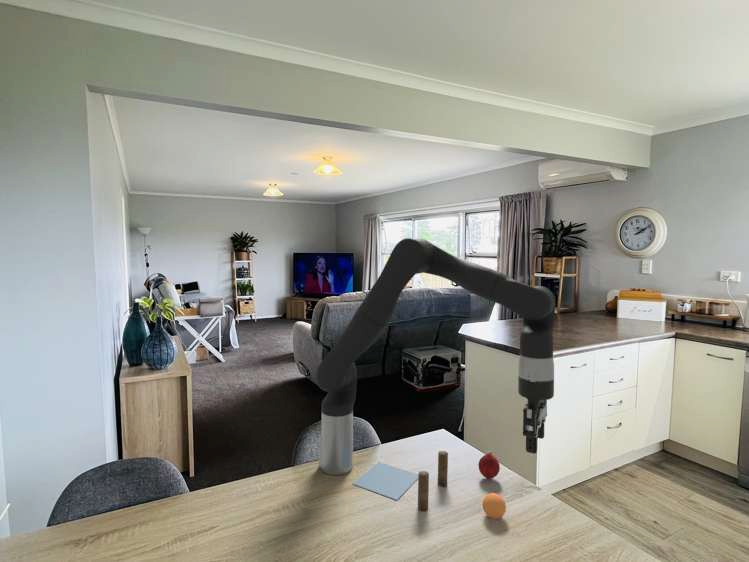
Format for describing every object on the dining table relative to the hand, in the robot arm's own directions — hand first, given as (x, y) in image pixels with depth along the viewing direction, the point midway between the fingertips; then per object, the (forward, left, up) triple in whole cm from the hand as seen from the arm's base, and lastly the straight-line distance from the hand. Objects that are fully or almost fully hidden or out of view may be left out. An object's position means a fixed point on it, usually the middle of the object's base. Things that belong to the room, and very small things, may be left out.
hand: (535, 444), depth 96 cm
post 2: (-25, +7, -21) cm, 33 cm away
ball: (-9, 0, -18) cm, 20 cm away
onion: (-15, +16, -21) cm, 30 cm away
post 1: (-25, -6, -21) cm, 33 cm away
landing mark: (-39, 0, -21) cm, 44 cm away
